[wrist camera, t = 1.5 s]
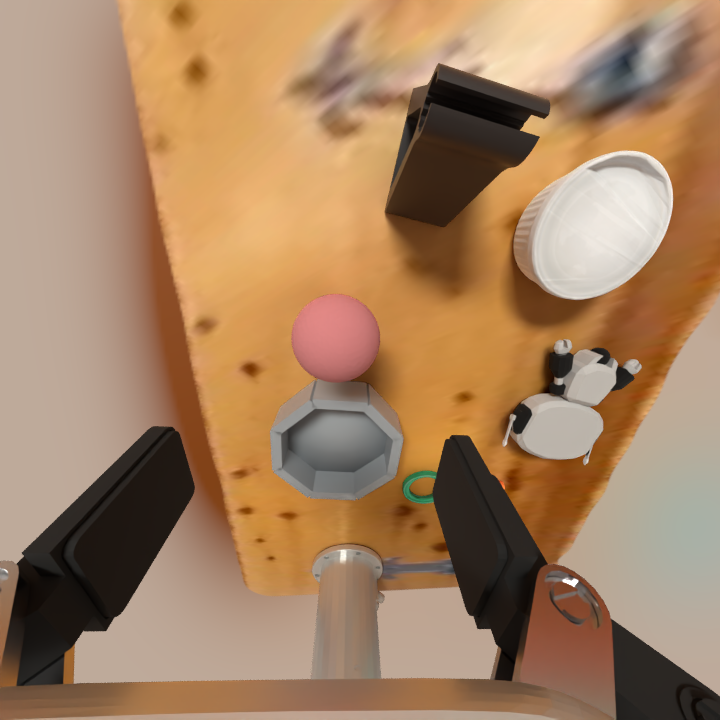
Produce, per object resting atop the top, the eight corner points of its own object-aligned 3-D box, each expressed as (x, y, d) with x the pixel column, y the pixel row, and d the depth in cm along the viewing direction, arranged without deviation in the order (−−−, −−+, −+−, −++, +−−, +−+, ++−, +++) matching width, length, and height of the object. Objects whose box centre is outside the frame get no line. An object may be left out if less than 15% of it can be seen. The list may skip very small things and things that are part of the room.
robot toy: (539, 328, 32) (485, 431, 37) (568, 339, 28) (503, 453, 33) (624, 353, 34) (562, 448, 39) (663, 367, 30) (588, 471, 35)
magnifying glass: (400, 497, 43) (402, 506, 41) (403, 468, 41) (405, 478, 39) (494, 495, 43) (500, 505, 42) (503, 467, 41) (509, 476, 39)
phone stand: (412, 90, 22) (470, -49, 11) (479, 112, 23) (595, 1, 12) (383, 212, 26) (406, 194, 15) (442, 227, 27) (505, 222, 16)
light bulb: (309, 341, 31) (285, 398, 20) (306, 277, 28) (277, 304, 17) (370, 343, 31) (380, 400, 21) (374, 280, 28) (388, 308, 18)
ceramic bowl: (417, 434, 37) (425, 459, 33) (333, 487, 41) (331, 515, 37) (343, 357, 32) (342, 374, 28) (256, 425, 36) (243, 450, 32)
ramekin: (637, 167, 25) (705, 151, 20) (591, 290, 30) (638, 301, 25) (518, 164, 25) (558, 146, 20) (491, 289, 29) (518, 299, 24)
